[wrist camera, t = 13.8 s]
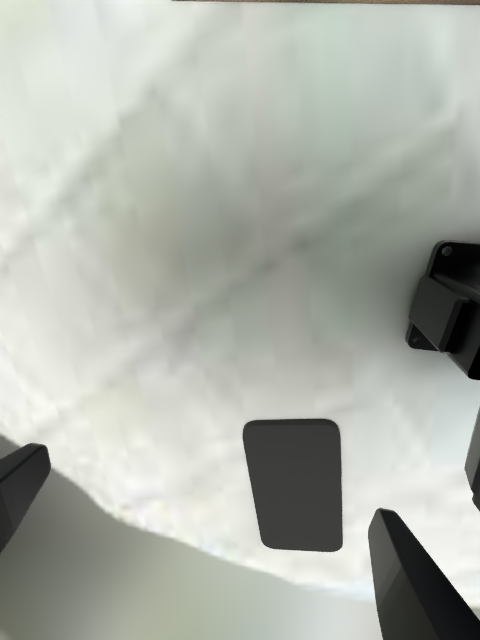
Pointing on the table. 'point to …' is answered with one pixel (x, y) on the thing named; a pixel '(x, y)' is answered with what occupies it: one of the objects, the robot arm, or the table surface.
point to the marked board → (368, 1)
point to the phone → (296, 482)
